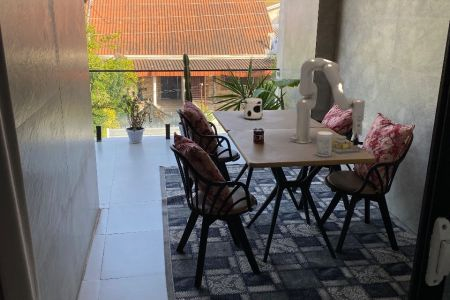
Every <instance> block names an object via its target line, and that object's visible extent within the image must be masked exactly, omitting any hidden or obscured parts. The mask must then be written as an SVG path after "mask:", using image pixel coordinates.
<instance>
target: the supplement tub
mask: <svg viewBox="0 0 450 300" xmlns="http://www.w3.org/2000/svg"><path fill="white" fill-rule="evenodd" d="M316 135H317V136H316V138H317V139H316V152H315V153H316V154H315V155H317V156H318V157H324V158H326V157H327V158H328V157H330V156H331V155H332V152H333V151H332V141H333V132H331V131H317V134H316Z"/></svg>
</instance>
